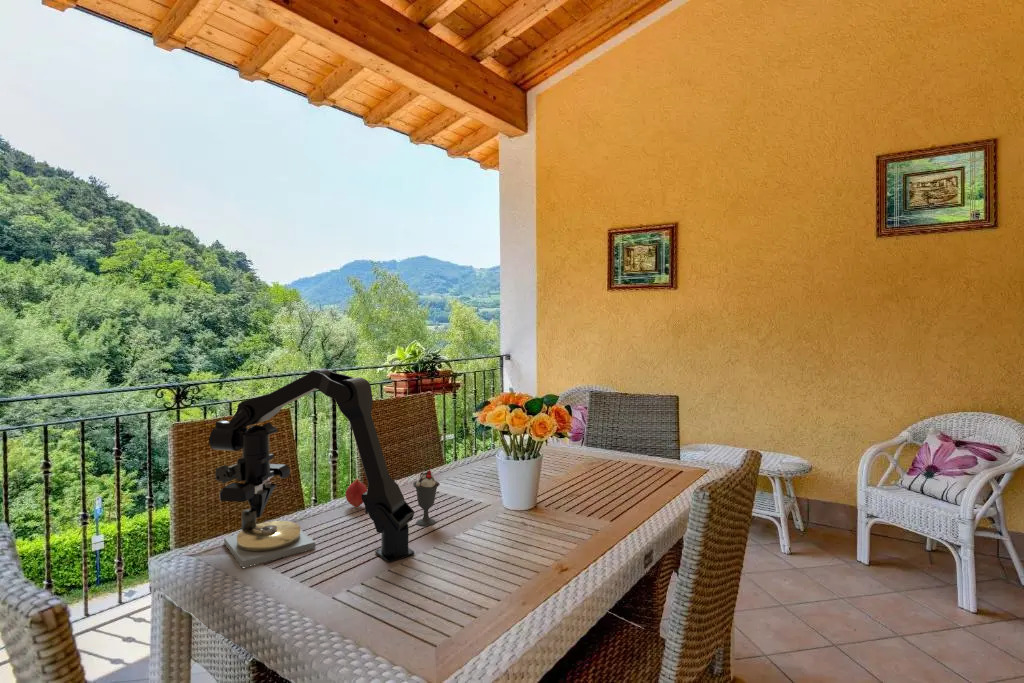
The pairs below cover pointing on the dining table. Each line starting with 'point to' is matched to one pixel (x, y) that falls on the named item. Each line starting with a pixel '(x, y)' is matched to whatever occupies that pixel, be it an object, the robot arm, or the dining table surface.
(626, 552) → the dining table surface
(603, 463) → the dining table surface
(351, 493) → the onion
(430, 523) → the sundae
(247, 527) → the handwheel
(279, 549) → the base plate
